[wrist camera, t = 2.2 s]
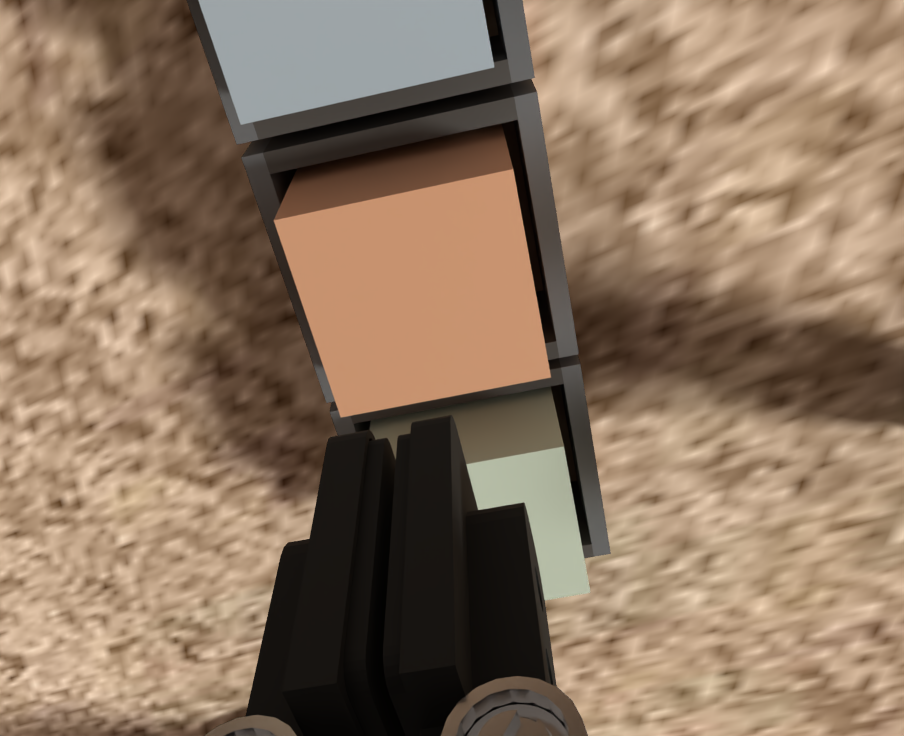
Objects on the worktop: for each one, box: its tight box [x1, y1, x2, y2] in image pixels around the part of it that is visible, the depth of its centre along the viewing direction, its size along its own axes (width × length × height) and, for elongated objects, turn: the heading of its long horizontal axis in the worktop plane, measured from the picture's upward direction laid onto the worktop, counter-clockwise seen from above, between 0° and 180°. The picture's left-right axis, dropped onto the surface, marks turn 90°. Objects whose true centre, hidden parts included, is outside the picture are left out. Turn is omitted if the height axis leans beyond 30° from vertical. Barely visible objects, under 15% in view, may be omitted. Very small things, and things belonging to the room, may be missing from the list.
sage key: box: [370, 386, 590, 600], centre depth 24 cm, size 5×5×4 cm
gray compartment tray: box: [187, 0, 611, 558], centre depth 22 cm, size 24×7×4 cm, turn 12°
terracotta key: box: [274, 124, 551, 417], centre depth 20 cm, size 5×5×4 cm
